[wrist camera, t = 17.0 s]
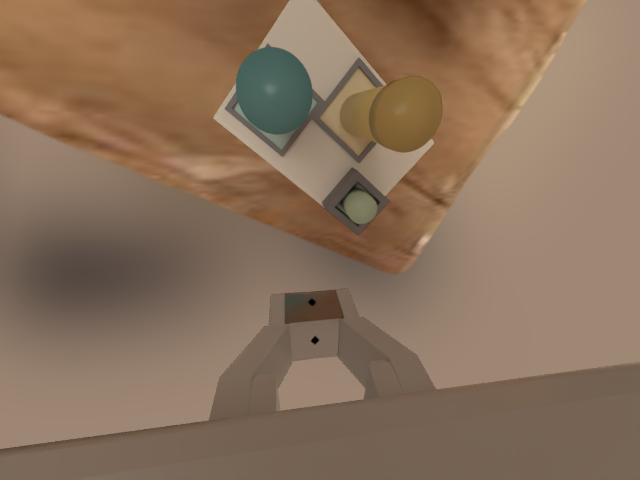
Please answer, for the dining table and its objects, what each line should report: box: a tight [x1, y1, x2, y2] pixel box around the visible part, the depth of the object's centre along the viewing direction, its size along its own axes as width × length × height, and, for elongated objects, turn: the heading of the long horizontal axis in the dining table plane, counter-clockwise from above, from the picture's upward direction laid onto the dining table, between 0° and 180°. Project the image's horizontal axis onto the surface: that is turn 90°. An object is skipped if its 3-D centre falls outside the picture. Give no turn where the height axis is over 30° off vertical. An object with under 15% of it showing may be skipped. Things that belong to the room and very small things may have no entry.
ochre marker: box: [340, 76, 442, 153], centre depth 21 cm, size 4×4×12 cm
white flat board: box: [213, 0, 435, 235], centre depth 26 cm, size 14×20×4 cm
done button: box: [340, 187, 377, 224], centre depth 29 cm, size 3×3×4 cm
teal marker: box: [236, 47, 313, 135], centre depth 19 cm, size 4×4×12 cm
